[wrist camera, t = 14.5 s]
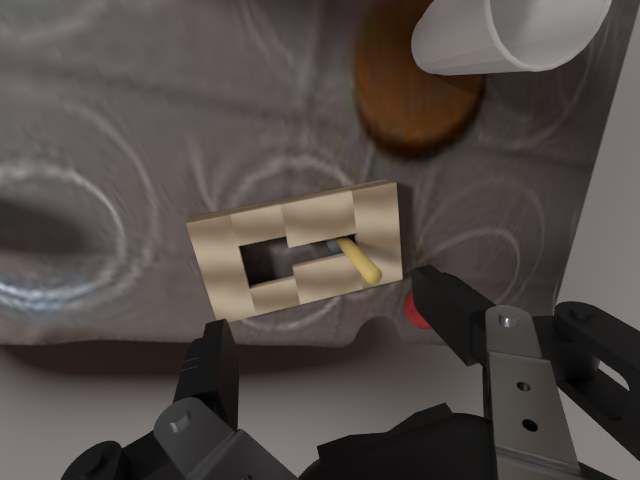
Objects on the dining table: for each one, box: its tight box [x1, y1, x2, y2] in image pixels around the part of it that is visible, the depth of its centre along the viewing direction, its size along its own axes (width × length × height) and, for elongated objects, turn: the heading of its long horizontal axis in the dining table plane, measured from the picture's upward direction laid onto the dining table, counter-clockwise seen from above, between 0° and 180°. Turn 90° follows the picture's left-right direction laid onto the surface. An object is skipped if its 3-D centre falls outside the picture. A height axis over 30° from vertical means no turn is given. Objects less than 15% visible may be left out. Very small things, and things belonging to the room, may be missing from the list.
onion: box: [404, 291, 432, 329], centre depth 46 cm, size 6×6×8 cm
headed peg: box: [326, 234, 382, 284], centre depth 38 cm, size 4×4×13 cm
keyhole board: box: [186, 179, 403, 322], centre depth 41 cm, size 14×26×3 cm, turn 99°
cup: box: [411, 0, 612, 75], centre depth 31 cm, size 12×12×16 cm
